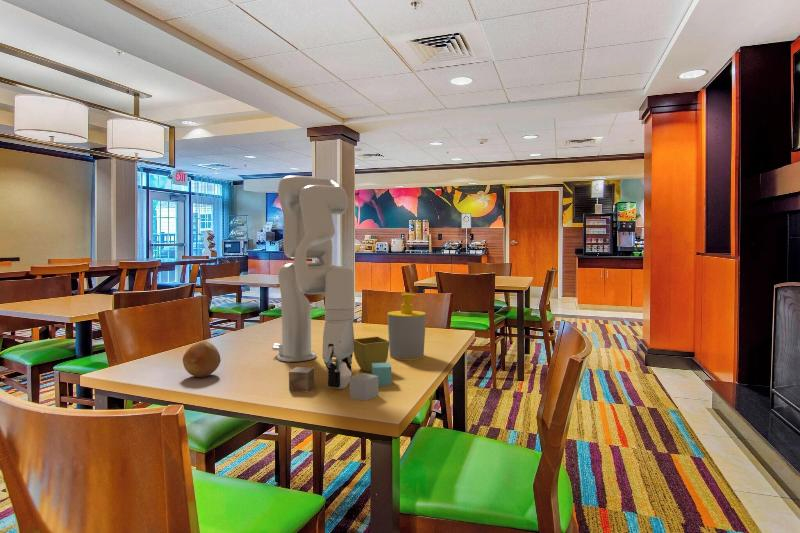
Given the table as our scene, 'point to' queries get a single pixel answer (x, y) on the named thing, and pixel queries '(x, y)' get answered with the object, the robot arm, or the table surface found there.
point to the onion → (201, 359)
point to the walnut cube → (301, 379)
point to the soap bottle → (406, 331)
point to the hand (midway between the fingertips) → (339, 382)
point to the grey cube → (363, 386)
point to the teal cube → (382, 373)
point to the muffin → (343, 375)
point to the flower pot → (370, 351)
